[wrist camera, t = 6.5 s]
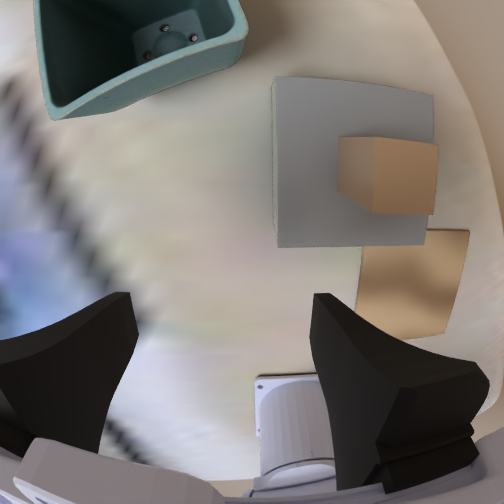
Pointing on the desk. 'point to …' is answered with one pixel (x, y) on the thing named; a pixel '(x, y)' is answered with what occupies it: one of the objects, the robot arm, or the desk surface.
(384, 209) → the lid
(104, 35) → the flower pot
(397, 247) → the mat
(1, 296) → the desk surface
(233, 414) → the desk surface
